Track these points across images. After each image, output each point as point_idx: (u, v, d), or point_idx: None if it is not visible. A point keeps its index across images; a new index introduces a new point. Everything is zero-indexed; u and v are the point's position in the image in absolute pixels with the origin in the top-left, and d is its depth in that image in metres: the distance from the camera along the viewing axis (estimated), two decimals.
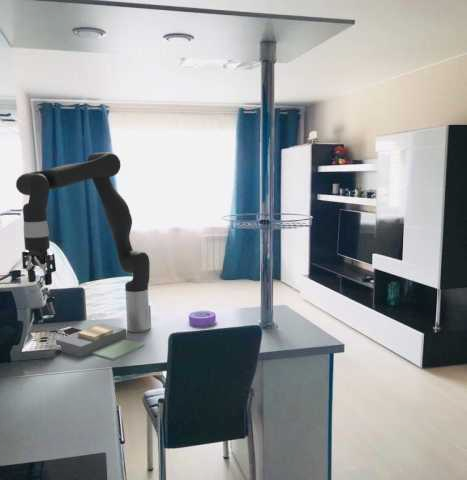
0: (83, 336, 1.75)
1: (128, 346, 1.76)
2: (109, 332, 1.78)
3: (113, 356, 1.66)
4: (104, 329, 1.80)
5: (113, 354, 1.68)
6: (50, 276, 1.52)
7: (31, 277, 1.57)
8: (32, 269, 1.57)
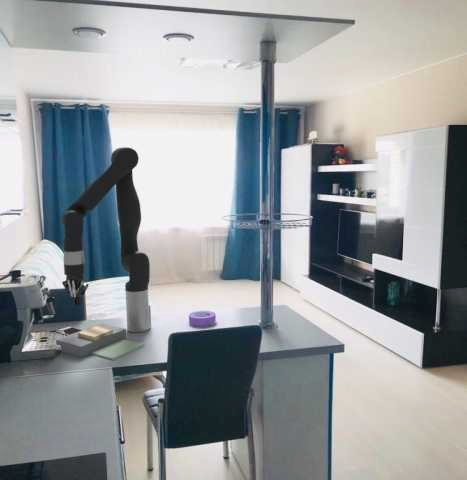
0: (83, 336, 1.75)
1: (128, 346, 1.76)
2: (109, 332, 1.78)
3: (113, 356, 1.66)
4: (104, 329, 1.80)
5: (113, 354, 1.68)
6: (78, 299, 1.81)
7: None
8: None
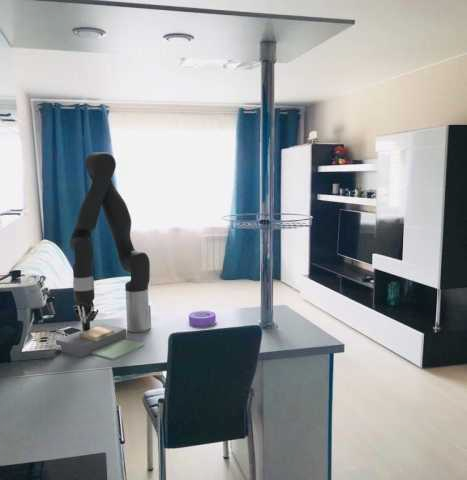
0: (84, 336, 1.75)
1: (128, 346, 1.76)
2: (110, 332, 1.78)
3: (113, 356, 1.66)
4: (105, 329, 1.80)
5: (113, 354, 1.68)
6: (89, 324, 1.80)
7: None
8: None
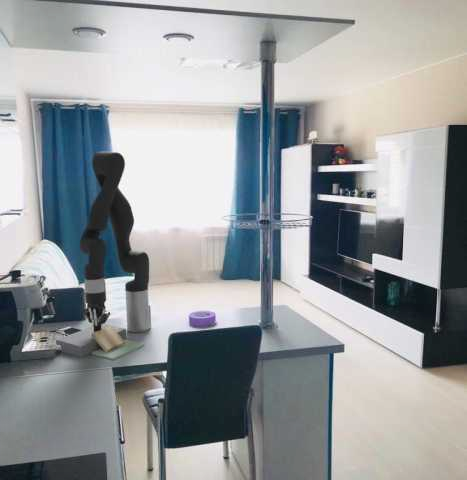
0: (96, 340, 1.72)
1: (128, 346, 1.76)
2: (121, 344, 1.76)
3: (113, 356, 1.66)
4: (117, 337, 1.77)
5: (113, 354, 1.68)
6: (100, 327, 1.77)
7: None
8: None
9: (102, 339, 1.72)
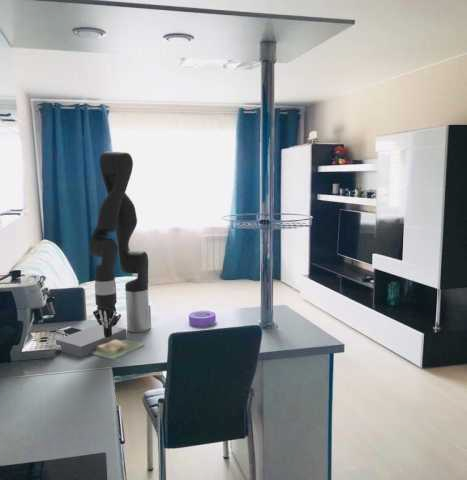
0: (101, 350, 1.71)
1: None
2: (127, 345, 1.74)
3: (113, 356, 1.66)
4: (122, 342, 1.76)
5: None
6: (110, 329, 1.74)
7: None
8: None
9: (106, 347, 1.71)
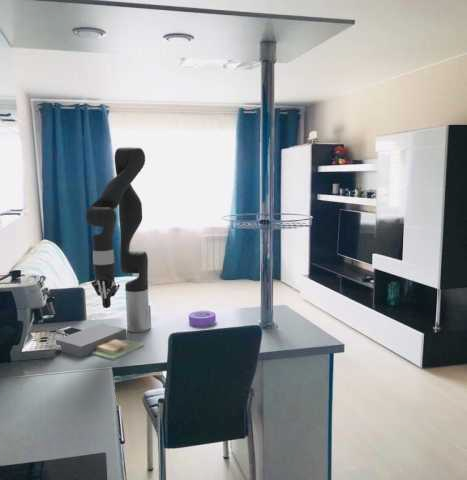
0: (101, 350, 1.71)
1: None
2: (127, 345, 1.74)
3: (113, 356, 1.66)
4: (122, 342, 1.76)
5: None
6: (109, 300, 1.72)
7: None
8: None
9: (106, 347, 1.71)
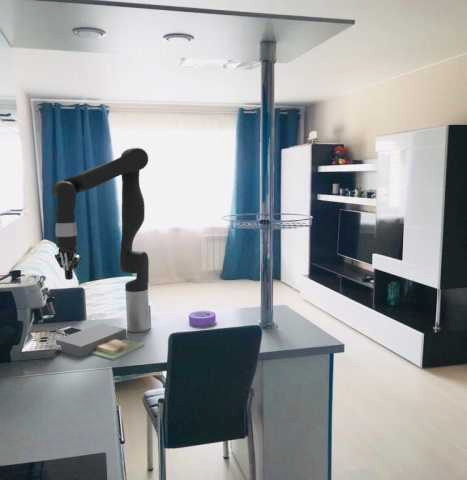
0: (101, 350, 1.71)
1: None
2: (127, 345, 1.74)
3: (113, 356, 1.66)
4: (122, 342, 1.76)
5: None
6: (71, 272, 1.79)
7: None
8: None
9: (106, 347, 1.71)
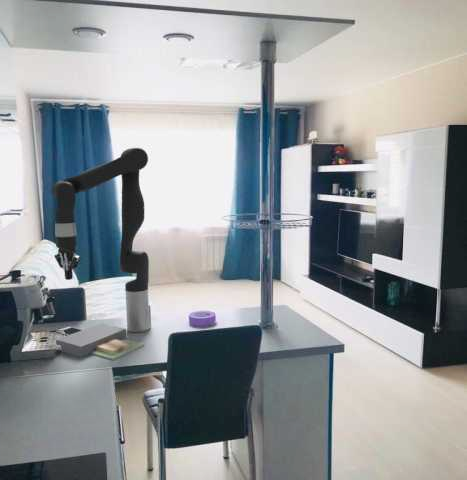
0: (101, 350, 1.71)
1: None
2: (127, 345, 1.74)
3: (113, 356, 1.66)
4: (122, 342, 1.76)
5: None
6: (71, 272, 1.79)
7: None
8: None
9: (106, 347, 1.71)
